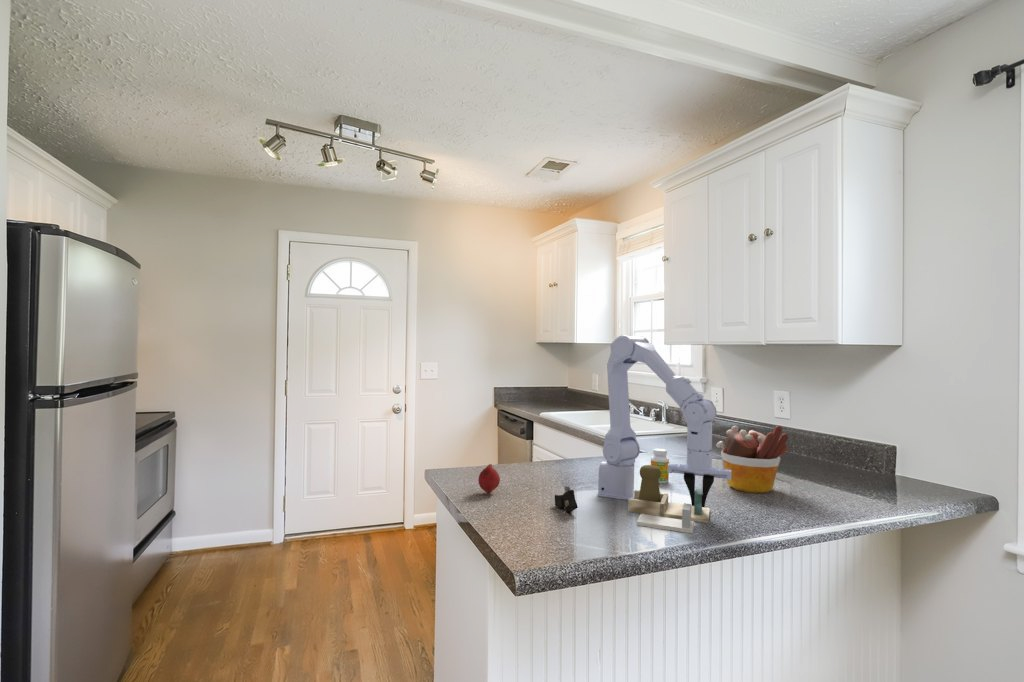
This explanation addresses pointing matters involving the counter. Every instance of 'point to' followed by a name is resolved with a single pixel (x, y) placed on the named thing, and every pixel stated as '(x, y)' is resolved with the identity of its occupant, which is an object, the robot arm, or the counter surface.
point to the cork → (650, 483)
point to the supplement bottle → (661, 463)
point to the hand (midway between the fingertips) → (698, 505)
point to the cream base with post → (669, 521)
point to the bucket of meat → (752, 458)
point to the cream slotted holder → (669, 507)
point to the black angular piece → (566, 500)
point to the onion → (489, 479)
